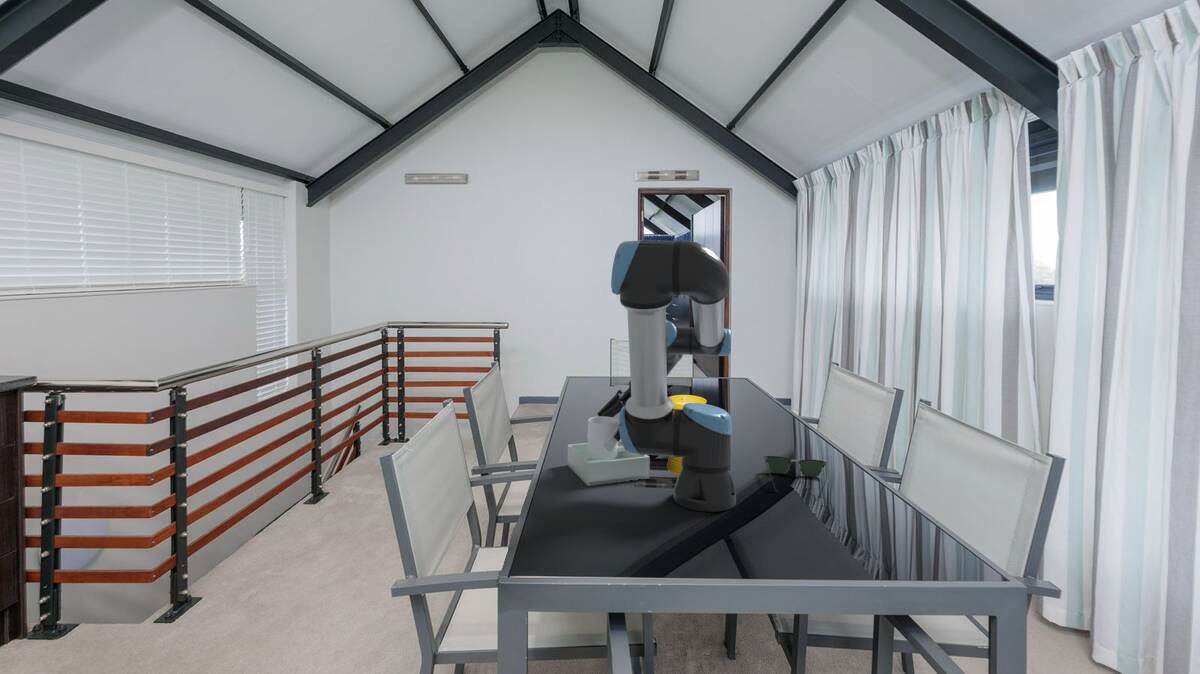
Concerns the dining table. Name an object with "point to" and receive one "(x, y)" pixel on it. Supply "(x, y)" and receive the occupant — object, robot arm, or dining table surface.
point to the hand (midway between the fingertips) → (597, 443)
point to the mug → (602, 438)
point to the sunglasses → (806, 468)
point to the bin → (607, 466)
